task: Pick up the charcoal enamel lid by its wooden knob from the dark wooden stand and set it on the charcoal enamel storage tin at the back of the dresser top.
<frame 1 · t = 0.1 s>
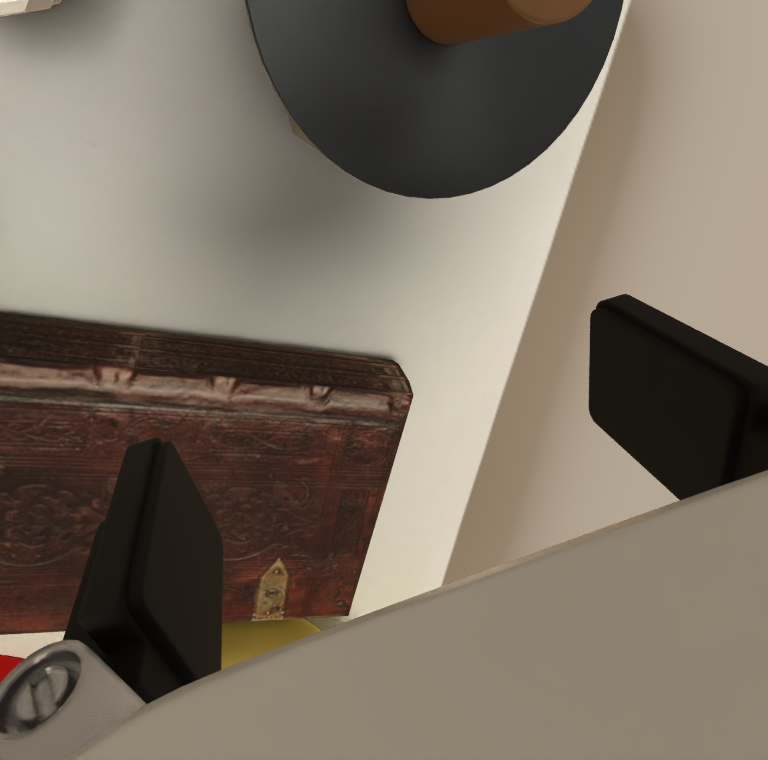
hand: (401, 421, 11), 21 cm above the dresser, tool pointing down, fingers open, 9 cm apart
book: (148, 459, 33), on the dresser
vase: (238, 642, 44), on the dresser
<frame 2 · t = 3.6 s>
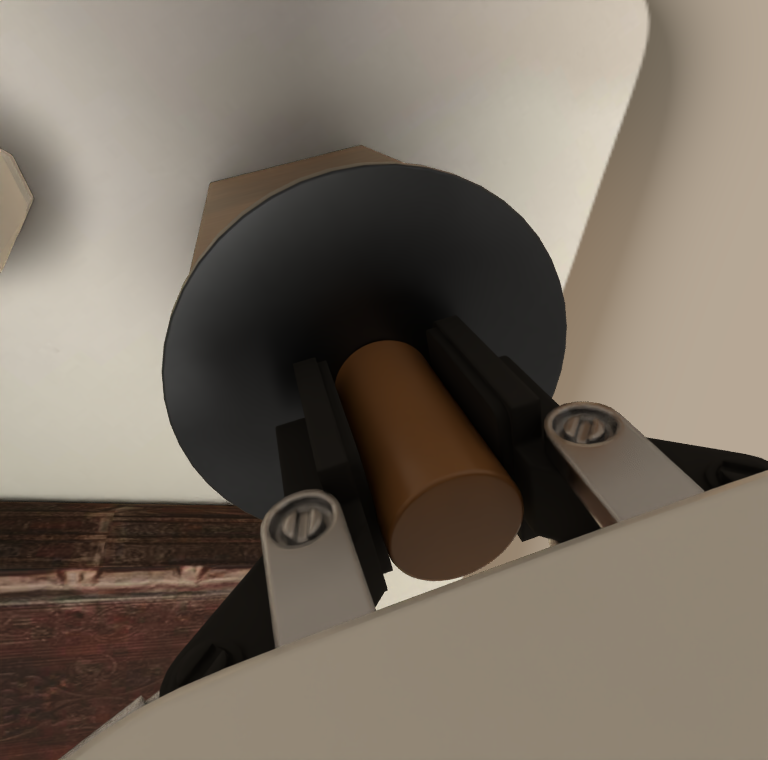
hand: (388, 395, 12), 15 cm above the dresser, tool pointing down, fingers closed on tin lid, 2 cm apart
tin lid: (377, 374, 13), point 14 cm above the dresser, touching gripper, stand
book: (121, 610, 33), on the dresser
stand: (308, 239, 25), on the dresser
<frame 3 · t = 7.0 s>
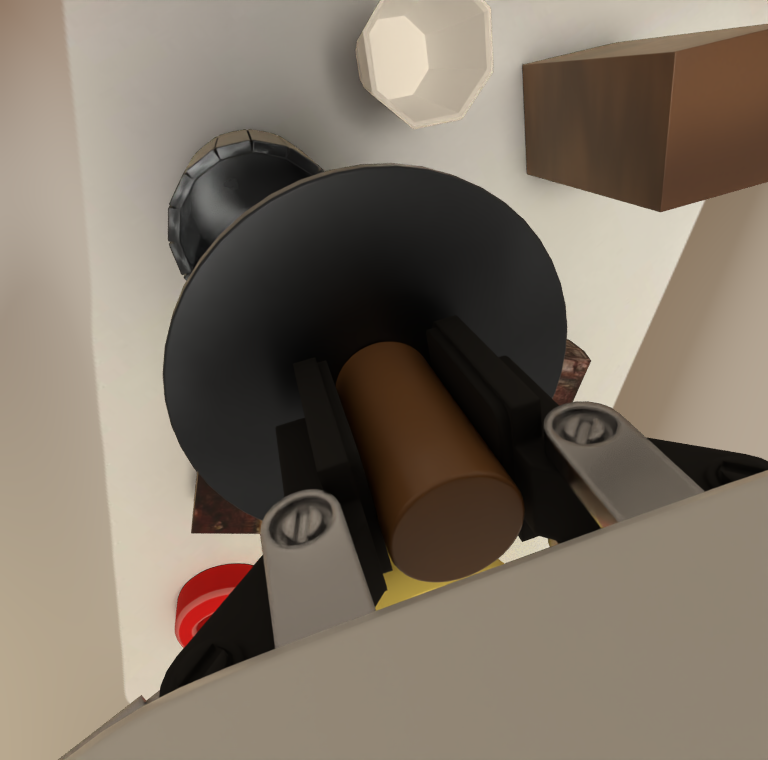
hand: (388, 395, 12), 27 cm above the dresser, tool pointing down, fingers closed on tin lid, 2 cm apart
tin: (255, 206, 34), on the dresser
tin lid: (378, 375, 13), point 25 cm above the dresser, touching gripper
cup: (393, 32, 32), on the dresser
decorative ornament: (229, 597, 51), on the dresser
book: (381, 409, 45), on the dresser
stand: (570, 110, 37), on the dresser
vase: (407, 564, 55), on the dresser
when the fingers open (10 cm above the dresser, at t = 10.9 s): tin lid stays where it is, resting on tin.
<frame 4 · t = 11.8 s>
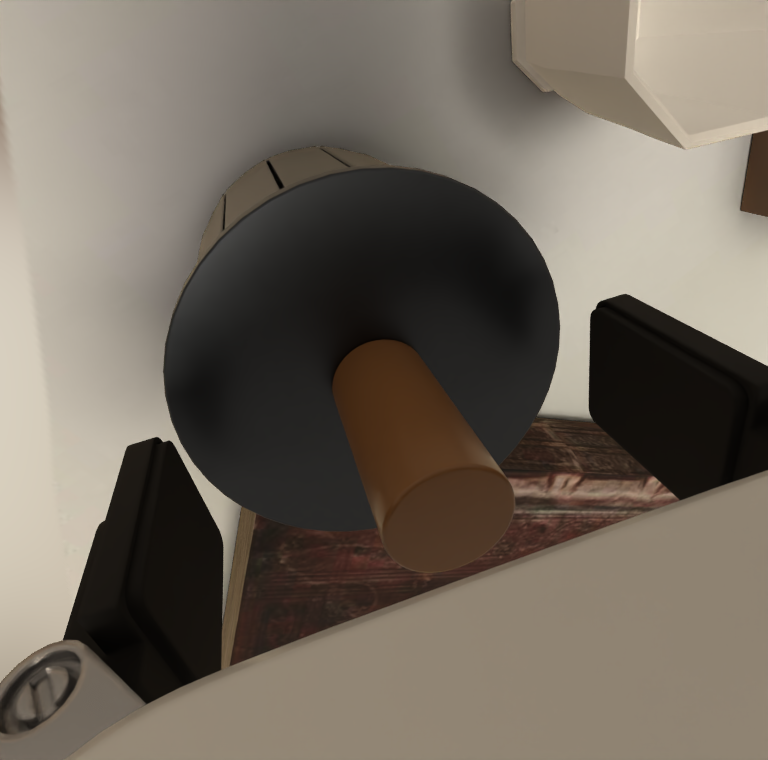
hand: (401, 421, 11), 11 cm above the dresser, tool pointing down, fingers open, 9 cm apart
tin: (323, 273, 20), on the dresser
tin lid: (374, 372, 13), point 8 cm above the dresser, touching tin
book: (483, 544, 31), on the dresser
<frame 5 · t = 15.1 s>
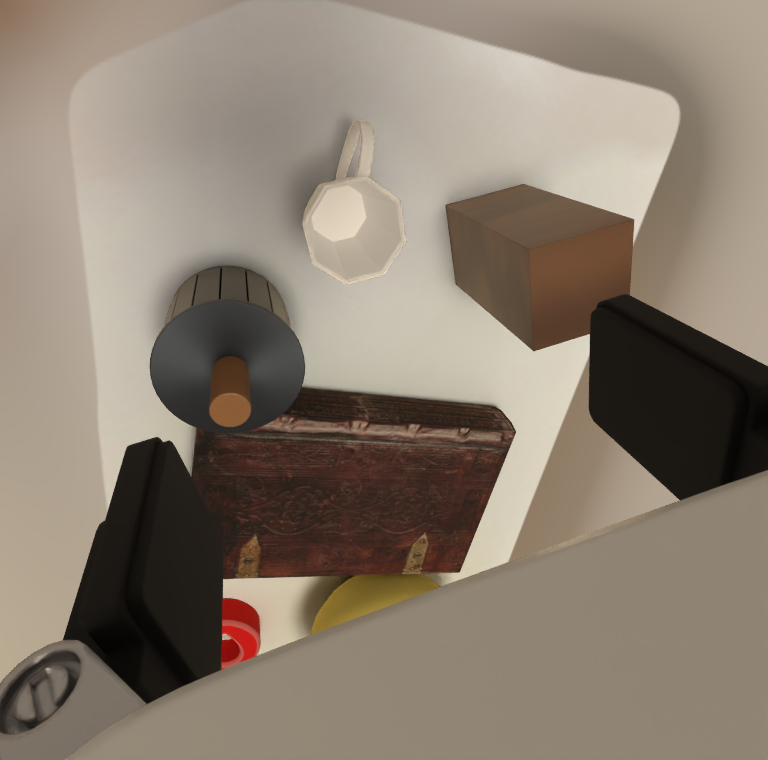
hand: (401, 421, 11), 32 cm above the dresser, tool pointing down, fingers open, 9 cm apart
tin: (230, 320, 42), on the dresser
tin lid: (230, 368, 35), point 8 cm above the dresser, touching tin
cup: (337, 188, 40), on the dresser
decorative ornament: (216, 626, 59), on the dresser
book: (342, 470, 53), on the dresser
stand: (488, 235, 45), on the dresser
vase: (372, 595, 63), on the dresser
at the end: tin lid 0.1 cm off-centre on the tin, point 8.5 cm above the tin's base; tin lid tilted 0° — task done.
